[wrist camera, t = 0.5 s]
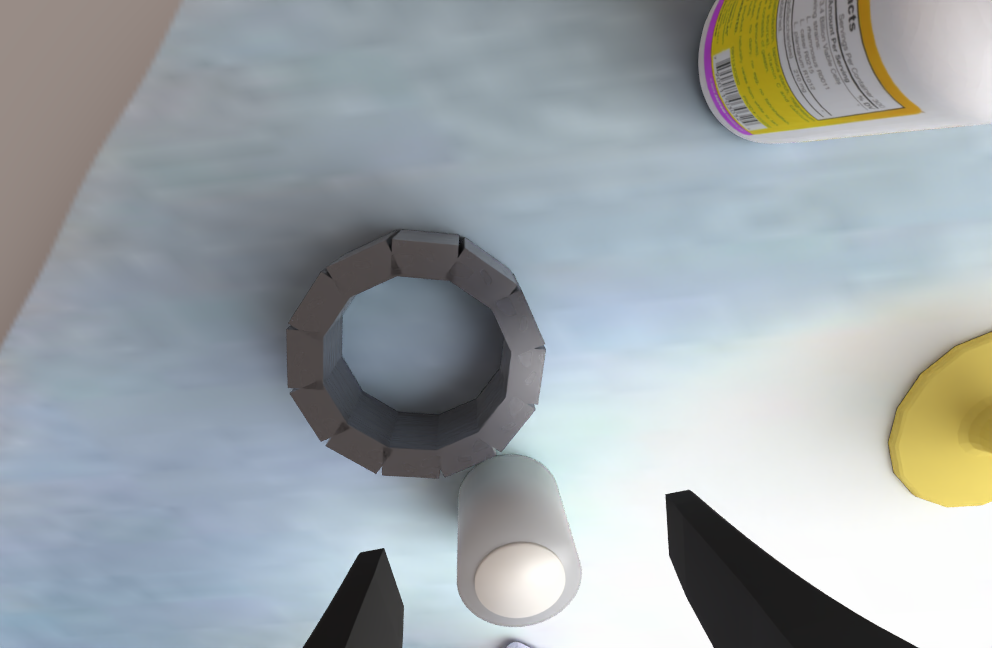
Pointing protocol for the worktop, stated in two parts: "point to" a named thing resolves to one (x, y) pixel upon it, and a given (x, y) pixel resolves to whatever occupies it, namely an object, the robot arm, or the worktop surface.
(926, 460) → the candle
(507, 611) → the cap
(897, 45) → the supplement bottle
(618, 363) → the worktop surface
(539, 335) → the segmented grey ring
